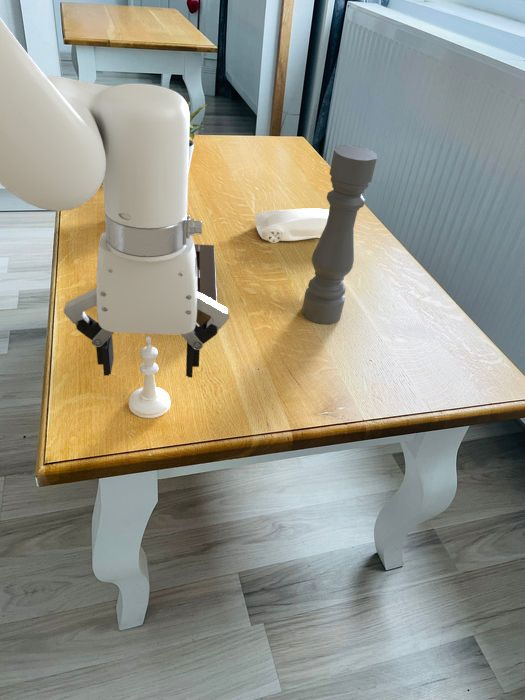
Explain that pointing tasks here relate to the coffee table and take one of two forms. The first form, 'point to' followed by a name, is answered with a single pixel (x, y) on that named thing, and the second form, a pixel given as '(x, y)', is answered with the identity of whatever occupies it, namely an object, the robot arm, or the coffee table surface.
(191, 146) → the house plant
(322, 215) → the toy car
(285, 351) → the coffee table surface
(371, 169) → the candle holder
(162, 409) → the chess piece
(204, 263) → the socket block
